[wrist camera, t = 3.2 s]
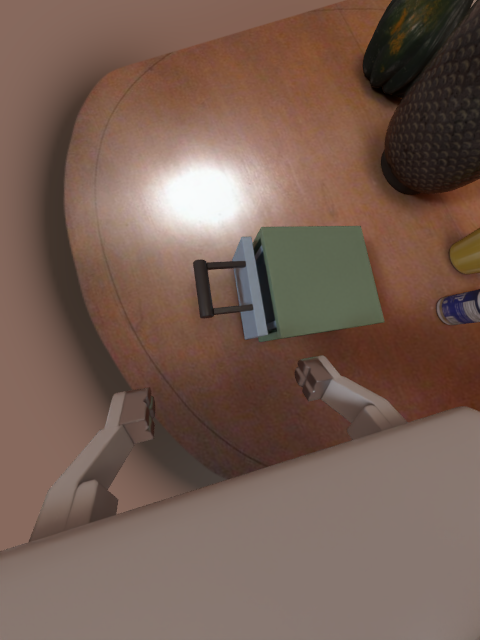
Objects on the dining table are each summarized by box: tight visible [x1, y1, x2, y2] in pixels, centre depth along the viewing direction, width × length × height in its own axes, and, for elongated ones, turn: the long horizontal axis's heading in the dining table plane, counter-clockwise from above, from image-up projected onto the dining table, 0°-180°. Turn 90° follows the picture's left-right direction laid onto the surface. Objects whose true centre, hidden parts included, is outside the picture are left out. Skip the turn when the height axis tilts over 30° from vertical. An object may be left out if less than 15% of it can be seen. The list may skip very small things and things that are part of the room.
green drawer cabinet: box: [253, 226, 384, 342], centre depth 27 cm, size 14×13×8 cm
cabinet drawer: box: [193, 237, 277, 340], centre depth 25 cm, size 18×11×6 cm, turn 99°
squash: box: [363, 0, 473, 98], centre depth 38 cm, size 14×15×15 cm
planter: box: [381, 0, 480, 195], centre depth 31 cm, size 20×20×19 cm
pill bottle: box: [437, 289, 480, 325], centre depth 33 cm, size 5×5×9 cm
